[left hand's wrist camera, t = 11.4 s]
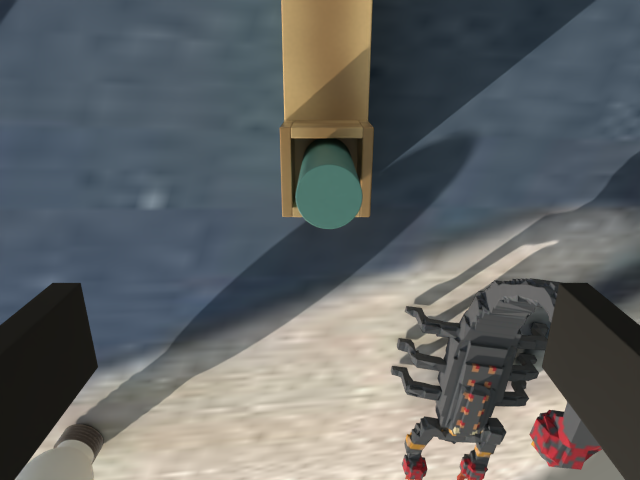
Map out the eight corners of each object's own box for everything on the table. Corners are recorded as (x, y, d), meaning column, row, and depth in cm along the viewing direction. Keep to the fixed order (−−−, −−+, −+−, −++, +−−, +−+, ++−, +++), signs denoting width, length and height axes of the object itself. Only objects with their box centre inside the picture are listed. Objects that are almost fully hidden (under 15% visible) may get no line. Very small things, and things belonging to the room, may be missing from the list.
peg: (302, 136, 33) (294, 164, 24) (352, 136, 33) (364, 164, 24) (303, 185, 34) (295, 229, 25) (350, 185, 34) (361, 229, 25)
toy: (578, 235, 40) (771, 362, 23) (493, 465, 49) (585, 677, 32) (428, 214, 39) (511, 328, 22) (371, 451, 49) (399, 660, 32)
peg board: (289, 187, 39) (282, 217, 31) (281, -168, 30) (268, -245, 23) (360, 187, 39) (370, 217, 31) (373, -168, 30) (389, -245, 23)
